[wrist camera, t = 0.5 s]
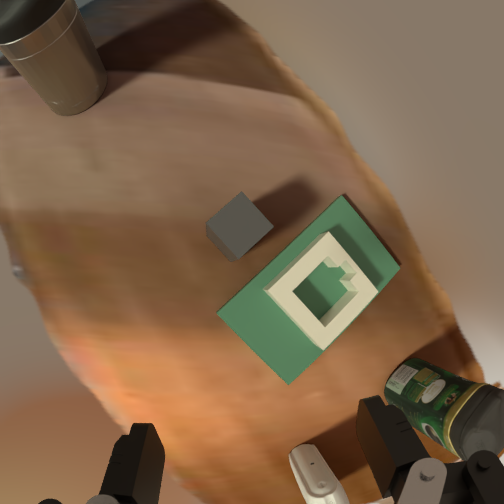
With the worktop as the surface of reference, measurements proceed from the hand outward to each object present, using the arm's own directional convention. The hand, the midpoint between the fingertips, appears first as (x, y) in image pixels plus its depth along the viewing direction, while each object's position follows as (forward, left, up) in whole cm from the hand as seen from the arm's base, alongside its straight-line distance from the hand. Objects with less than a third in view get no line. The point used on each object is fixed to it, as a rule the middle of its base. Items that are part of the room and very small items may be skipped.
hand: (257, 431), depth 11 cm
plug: (-7, +7, -25) cm, 27 cm away
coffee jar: (+25, +11, -25) cm, 38 cm away
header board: (+4, +10, -25) cm, 28 cm away
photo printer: (+23, -7, -25) cm, 35 cm away
